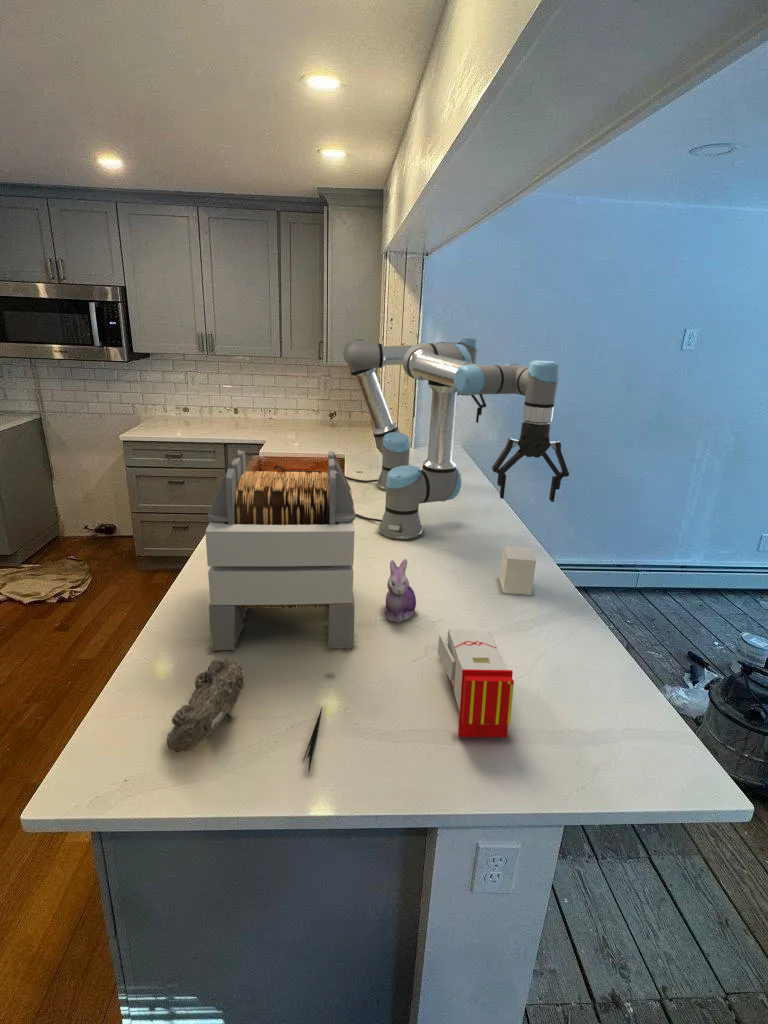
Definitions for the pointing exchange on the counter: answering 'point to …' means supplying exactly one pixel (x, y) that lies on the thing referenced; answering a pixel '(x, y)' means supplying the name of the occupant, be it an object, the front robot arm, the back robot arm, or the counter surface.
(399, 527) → the front robot arm
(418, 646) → the counter surface
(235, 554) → the record crate
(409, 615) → the figurine
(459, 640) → the toy
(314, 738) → the feather
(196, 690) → the fossil
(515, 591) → the brick
